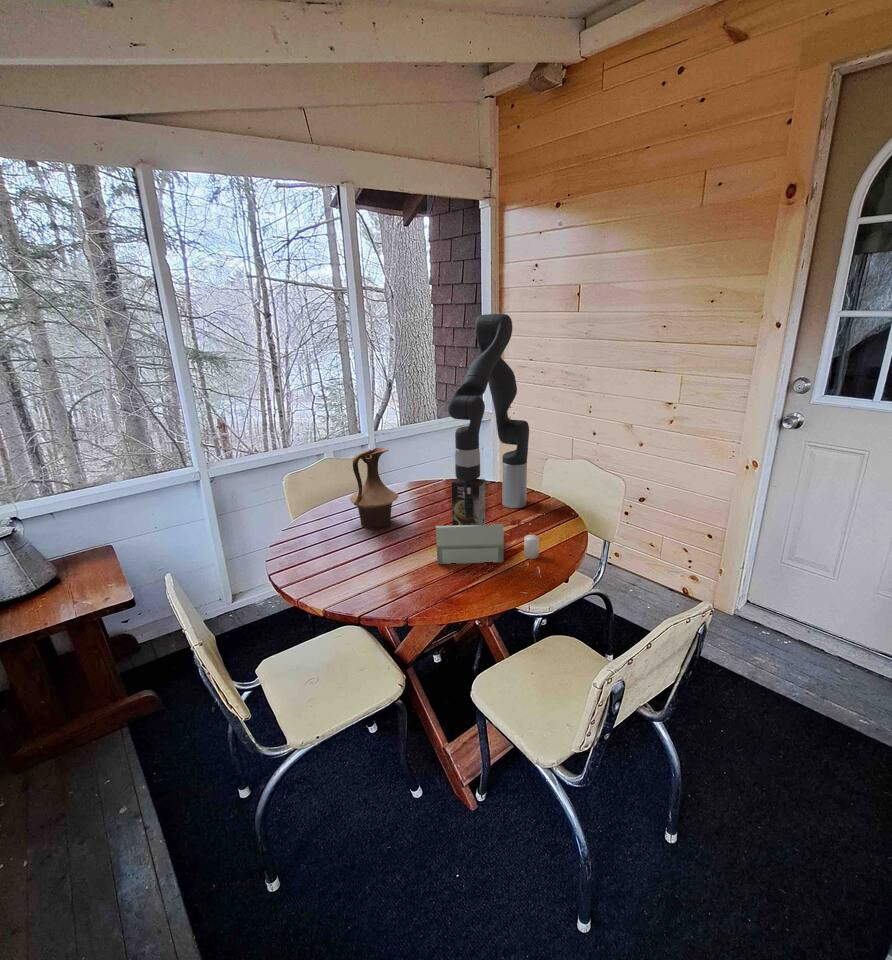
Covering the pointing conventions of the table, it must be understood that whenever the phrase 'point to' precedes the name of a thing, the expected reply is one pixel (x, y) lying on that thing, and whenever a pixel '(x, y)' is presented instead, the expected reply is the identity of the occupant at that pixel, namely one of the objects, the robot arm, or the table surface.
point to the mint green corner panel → (470, 543)
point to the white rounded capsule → (531, 546)
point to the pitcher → (372, 492)
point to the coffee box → (458, 501)
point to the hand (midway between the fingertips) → (468, 511)
